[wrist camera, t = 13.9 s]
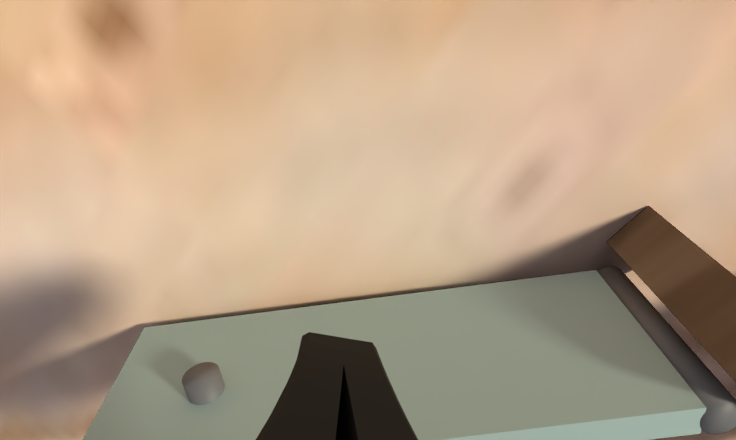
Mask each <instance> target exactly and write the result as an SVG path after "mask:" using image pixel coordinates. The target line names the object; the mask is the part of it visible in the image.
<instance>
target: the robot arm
mask: <svg viewBox="0 0 736 440" xmlns="http://www.w3.org/2000/svg"><path fill="white" fill-rule="evenodd" d="M256 440H418V438H417V436H416V435H415V433H414V431H413V429H412V427H411V425H410V423H409V421H408V419H407V417H406V415H405V413H404V411H403V409H402V407H401V405H400V403H399V401H398V398H397V396H396V394H395V392H394V390H393V387H392V385H391V383H390V381H389V378H388V376H387V374H386V371H385V369H384V367H383V364H382V362H381V359H380V357H379V354H378V351H377V349H376V347H375V346H374V344H373V343H372V342H366V341H360V340H354V339H348V338H342V337H336V336H330V335H324V334H318V333H312V332H308V333H307V334H305V335H303V336H302V338H301V343H300V347H299V352H298V356H297V360H296V362H295V365H294V368H293V370H292V372H291V375H290V377H289V379H288V382H287V384H286V386H285V388H284V390H283V392H282V394H281V395H280V397H279V399H278V401H277V403H276V405H275V407H274V409H273V411H272V413H271V415H270V417H269V418H268V420H267V422H266V423H265V425H264V427H263V428H262V430H261V432H260V433H259V435H258V437H257V438H256Z"/></svg>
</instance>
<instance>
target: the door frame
mask: <svg viewBox="0 0 736 440" xmlns="http://www.w3.org/2000/svg"><path fill="white" fill-rule="evenodd" d="M607 242H608V244H609V245H610V246H611V247H612V248H613V249H614V250H615V251H616V252H617V253H618V254H619V256H620V257H621V258H622V259H623V260H624V261H625V262H626V263H627V264H628V265H629V266H630V267H631V269H632V270H633V271H634V272H635V273H636V274H637V275H638V276H639V277H640V278H641V279H642V281H643V282H644V283H645V284H646V285H647V286H648V287H649V288H650V289H651V290H652V291H653V292H654V294H655V295H656V296H657V297H658V298H659V299H660V300H661V301H662V302H663V303H664V304H665V306H666V307H667V308H668V309H669V310H670V311H671V312H672V313H673V314H674V315H675V316H676V318H677V319H678V320H679V321H680V322H681V323H682V324H683V325H684V326H685V327H686V328H687V329H688V331H689V332H690V333H691V334H692V335H693V336H694V337H695V338H696V339H697V340H698V341H699V343H700V344H701V345H702V346H703V347H704V348H705V349H706V350H707V351H708V352H709V353H710V355H711V356H712V357H713V358H714V359H715V360H716V361H717V362H718V363H719V364H720V365H721V366H722V368H723V369H724V370H725V371H726V372H727V373H728V374H729V375H730V376H731V377H732V378H733V380H734V381H735V382H736V277H735V276H734V275H733V274H731V273H730V272H729V271H728V270H727V269H725V268H724V267H723V266H722V265H720V264H719V263H718V262H717V261H716V260H714V259H713V258H712V257H711V256H709V255H708V254H707V253H706V252H705V251H703V250H702V249H701V248H700V247H698V246H697V245H696V244H695V243H694V242H692V241H691V240H690V239H689V238H687V237H686V236H685V235H684V234H683V233H681V232H680V231H679V230H678V229H676V228H675V227H674V226H673V225H672V224H670V223H669V222H668V221H667V220H665V219H664V218H663V217H662V216H661V215H659V214H658V213H657V212H656V211H654V210H653V209H652V208H651V207H650V206H648V207H647V208H645V209H644V210H643V211H642V212H641V213H640V214H638V215H637V216H636V217H635V218H634V219H633V220H631V221H630V222H629V223H628V224H627V225H626V226H624V227H623V228H622V229H621V230H620V231H619V232H617V233H616V234H615V235H614V236H613V237H612V238H610V239H609V240H608V241H607Z"/></svg>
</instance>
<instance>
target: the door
mask: <svg viewBox="0 0 736 440" xmlns="http://www.w3.org/2000/svg"><path fill="white" fill-rule="evenodd" d="M308 332H312V333H318V334H324V335H330V336H336V337H342V338H348V339H354V340H360V341H366V342H372V343H373V344H374V346H375V347H376V349H377V351H378V354H379V357H380V359H381V362H382V364H383V367H384V369H385V371H386V374H387V376H388V378H389V381H390V383H391V385H392V387H393V390H394V392H395V394H396V396H397V398H398V401H399V403H400V405H401V407H402V409H403V411H404V413H405V415H406V417H407V419H408V421H409V423H410V425H411V427H412V429H413V431H414V433H415V435H416V436H417V438H418V440H651V439H660V438H668V437H677V436H685V435H694V434H701V430H703V431H704V432H706V433H709V434H721V433H725V432H728V431H730V430H732V429H733V428H735V427H736V400H735V399H734V397H733V396H732V395H731V394H730V393H729V392H728V391H727V389H726V388H725V387H724V386H723V385H722V384H721V383H720V382H719V380H718V379H717V378H716V377H715V376H714V375H713V374H712V372H711V371H710V370H709V369H708V368H707V367H706V366H705V365H704V363H703V362H702V361H701V360H700V359H699V358H698V357H697V355H696V354H695V353H694V352H693V351H692V350H691V349H690V348H689V346H688V345H687V344H686V343H685V342H684V341H683V340H682V338H681V337H680V336H679V335H678V334H677V333H676V332H675V331H674V329H673V328H672V327H671V326H670V325H669V324H668V323H667V321H666V320H665V319H664V318H663V317H662V316H661V315H660V313H659V312H658V311H657V310H656V309H655V308H654V307H653V306H652V304H651V303H650V302H649V301H648V300H647V299H646V298H645V296H644V295H643V294H642V293H641V292H640V291H639V290H638V289H637V287H636V286H635V285H634V284H633V283H632V282H631V281H630V279H629V278H628V277H627V276H626V275H625V274H624V273H623V272H622V270H621V269H620V268H618V267H615V266H607V267H604V268H602V269H600V270H599V271H598V272H597V270H591V271H584V272H576V273H568V274H560V275H552V276H544V277H536V278H529V279H521V280H513V281H505V282H497V283H489V284H481V285H474V286H466V287H458V288H450V289H442V290H434V291H427V292H419V293H411V294H403V295H395V296H387V297H379V298H372V299H364V300H356V301H348V302H340V303H332V304H324V305H317V306H309V307H301V308H293V309H285V310H277V311H269V312H262V313H254V314H246V315H238V316H230V317H222V318H215V319H207V320H199V321H191V322H183V323H175V324H167V325H160V326H152V327H144V329H143V331H142V333H141V335H140V336H139V338H138V340H137V342H136V344H135V346H134V347H133V349H132V351H131V353H130V355H129V356H128V358H127V360H126V362H125V364H124V366H123V367H122V369H121V371H120V373H119V375H118V376H117V378H116V380H115V382H114V384H113V386H112V387H111V389H110V391H109V393H108V395H107V396H106V398H105V400H104V402H103V404H102V406H101V407H100V409H99V411H98V413H97V415H96V416H95V418H94V420H93V422H92V424H91V426H90V427H89V429H88V431H87V433H86V435H85V436H84V438H83V440H256V438H257V437H258V435H259V433H260V432H261V430H262V428H263V427H264V425H265V423H266V422H267V420H268V418H269V417H270V415H271V413H272V411H273V409H274V407H275V405H276V403H277V401H278V399H279V397H280V395H281V394H282V392H283V390H284V388H285V386H286V384H287V382H288V379H289V377H290V375H291V372H292V370H293V368H294V365H295V362H296V360H297V356H298V352H299V347H300V343H301V338H302V336H303V335H305V334H307V333H308Z"/></svg>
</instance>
